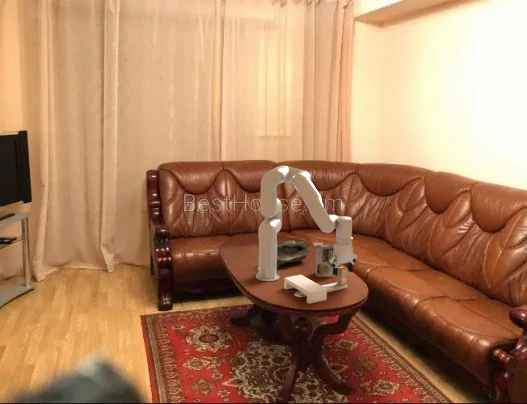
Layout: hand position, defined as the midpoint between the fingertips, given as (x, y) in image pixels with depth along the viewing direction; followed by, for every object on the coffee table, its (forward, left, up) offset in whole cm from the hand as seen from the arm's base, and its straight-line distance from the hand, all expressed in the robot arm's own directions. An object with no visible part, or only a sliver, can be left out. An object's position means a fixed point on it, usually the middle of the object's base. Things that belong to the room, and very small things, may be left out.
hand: (342, 273), depth 245 cm
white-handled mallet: (0, -8, -7) cm, 11 cm away
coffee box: (-18, +2, -7) cm, 20 cm away
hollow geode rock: (-44, -5, -8) cm, 44 cm away
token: (0, -25, -8) cm, 26 cm away
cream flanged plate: (0, -23, -7) cm, 24 cm away
